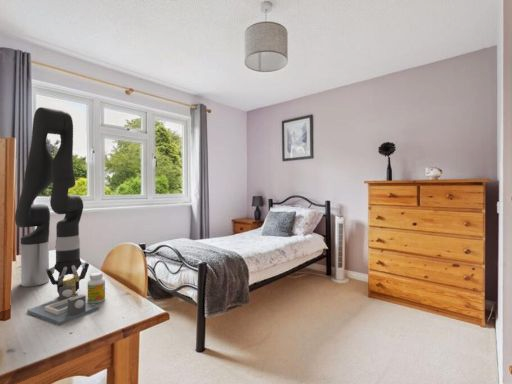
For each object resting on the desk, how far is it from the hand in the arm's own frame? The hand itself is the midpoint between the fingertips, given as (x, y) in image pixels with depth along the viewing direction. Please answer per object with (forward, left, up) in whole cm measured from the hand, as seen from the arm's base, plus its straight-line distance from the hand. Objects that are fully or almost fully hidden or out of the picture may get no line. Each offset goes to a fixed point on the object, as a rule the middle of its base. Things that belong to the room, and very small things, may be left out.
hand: (68, 292), depth 104 cm
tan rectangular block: (0, 0, -1) cm, 1 cm away
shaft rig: (+13, -9, -1) cm, 16 cm away
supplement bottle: (+15, +1, -1) cm, 15 cm away
